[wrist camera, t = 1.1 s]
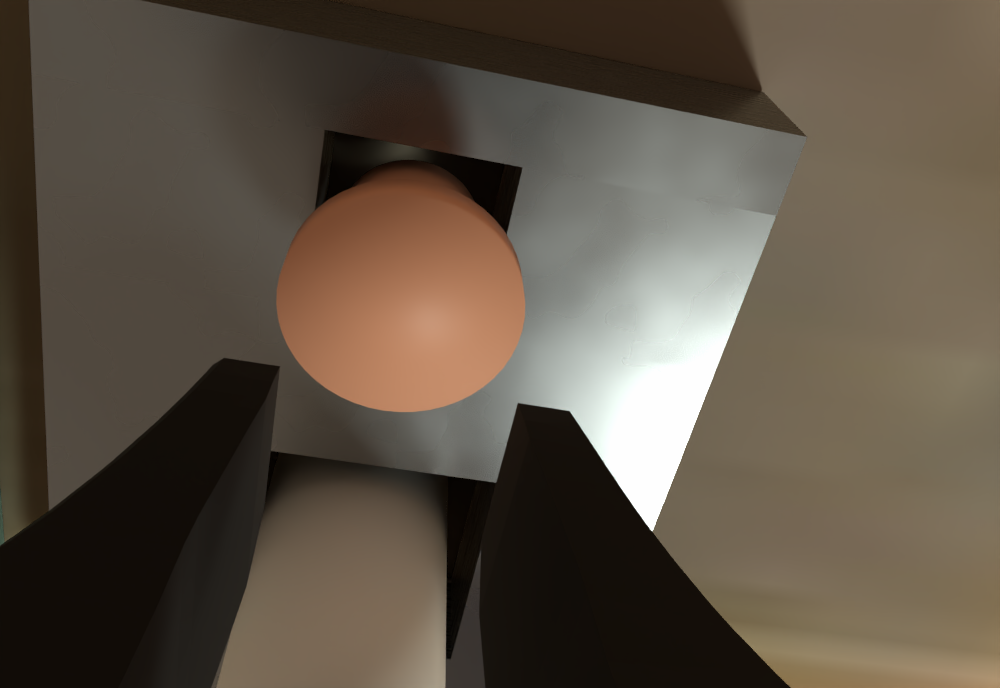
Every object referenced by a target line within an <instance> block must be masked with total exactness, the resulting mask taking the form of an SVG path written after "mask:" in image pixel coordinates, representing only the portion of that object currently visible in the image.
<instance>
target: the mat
mask: <svg viewBox="0 0 1000 688" xmlns="http://www.w3.org/2000/svg"><path fill="white" fill-rule="evenodd" d="M3 543H4V532H3V518H2V505H1V491H0V545H2V544H3Z"/></svg>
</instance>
